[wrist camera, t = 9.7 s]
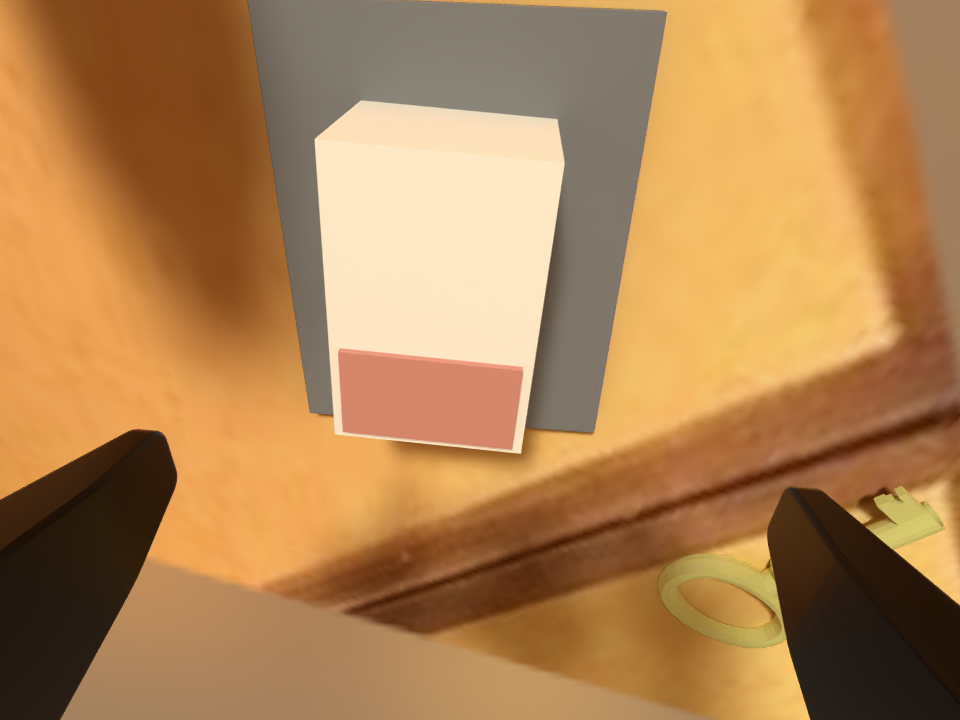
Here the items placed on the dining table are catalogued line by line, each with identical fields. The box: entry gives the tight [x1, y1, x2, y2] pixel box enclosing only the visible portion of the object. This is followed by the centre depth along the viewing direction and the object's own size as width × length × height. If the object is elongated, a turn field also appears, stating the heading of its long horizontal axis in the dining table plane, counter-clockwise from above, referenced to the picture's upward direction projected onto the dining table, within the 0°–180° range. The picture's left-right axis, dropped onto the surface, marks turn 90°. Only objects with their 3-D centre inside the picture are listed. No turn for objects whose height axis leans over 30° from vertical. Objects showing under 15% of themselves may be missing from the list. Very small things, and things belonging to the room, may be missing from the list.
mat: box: [247, 0, 667, 433], centre depth 20 cm, size 14×11×1 cm
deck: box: [315, 100, 565, 454], centre depth 18 cm, size 6×9×5 cm, turn 175°
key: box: [658, 486, 945, 648], centre depth 27 cm, size 7×12×2 cm, turn 158°
